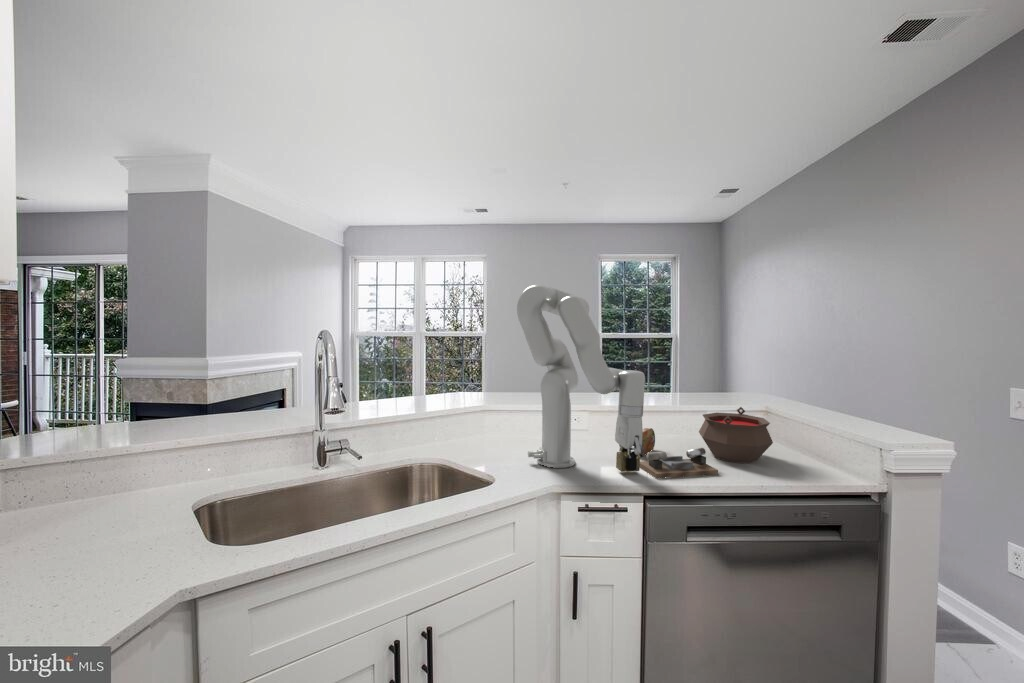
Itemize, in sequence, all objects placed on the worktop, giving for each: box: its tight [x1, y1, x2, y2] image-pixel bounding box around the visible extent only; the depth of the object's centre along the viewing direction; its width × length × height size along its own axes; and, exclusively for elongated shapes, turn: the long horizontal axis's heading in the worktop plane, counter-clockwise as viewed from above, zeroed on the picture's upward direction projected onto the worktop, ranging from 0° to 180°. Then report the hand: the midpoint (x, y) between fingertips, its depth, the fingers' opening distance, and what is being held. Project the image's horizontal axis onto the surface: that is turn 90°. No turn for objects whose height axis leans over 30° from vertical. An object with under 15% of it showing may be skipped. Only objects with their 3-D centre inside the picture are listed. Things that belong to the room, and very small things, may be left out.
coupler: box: [615, 451, 641, 473], centre depth 142 cm, size 6×4×5 cm, turn 101°
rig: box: [640, 451, 719, 479], centre depth 145 cm, size 21×12×6 cm, turn 101°
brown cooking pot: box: [698, 406, 774, 464], centre depth 160 cm, size 24×24×16 cm
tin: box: [633, 427, 656, 457], centre depth 164 cm, size 15×3×8 cm, turn 143°
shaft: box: [686, 447, 707, 465], centre depth 147 cm, size 6×4×5 cm, turn 121°
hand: (627, 467), depth 142 cm, fingers closed on coupler, 4 cm apart
